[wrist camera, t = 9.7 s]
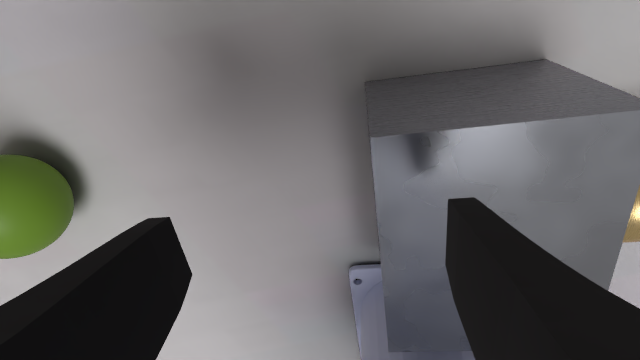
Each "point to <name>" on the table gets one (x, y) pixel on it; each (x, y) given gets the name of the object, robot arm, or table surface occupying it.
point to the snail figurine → (31, 205)
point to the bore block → (495, 178)
